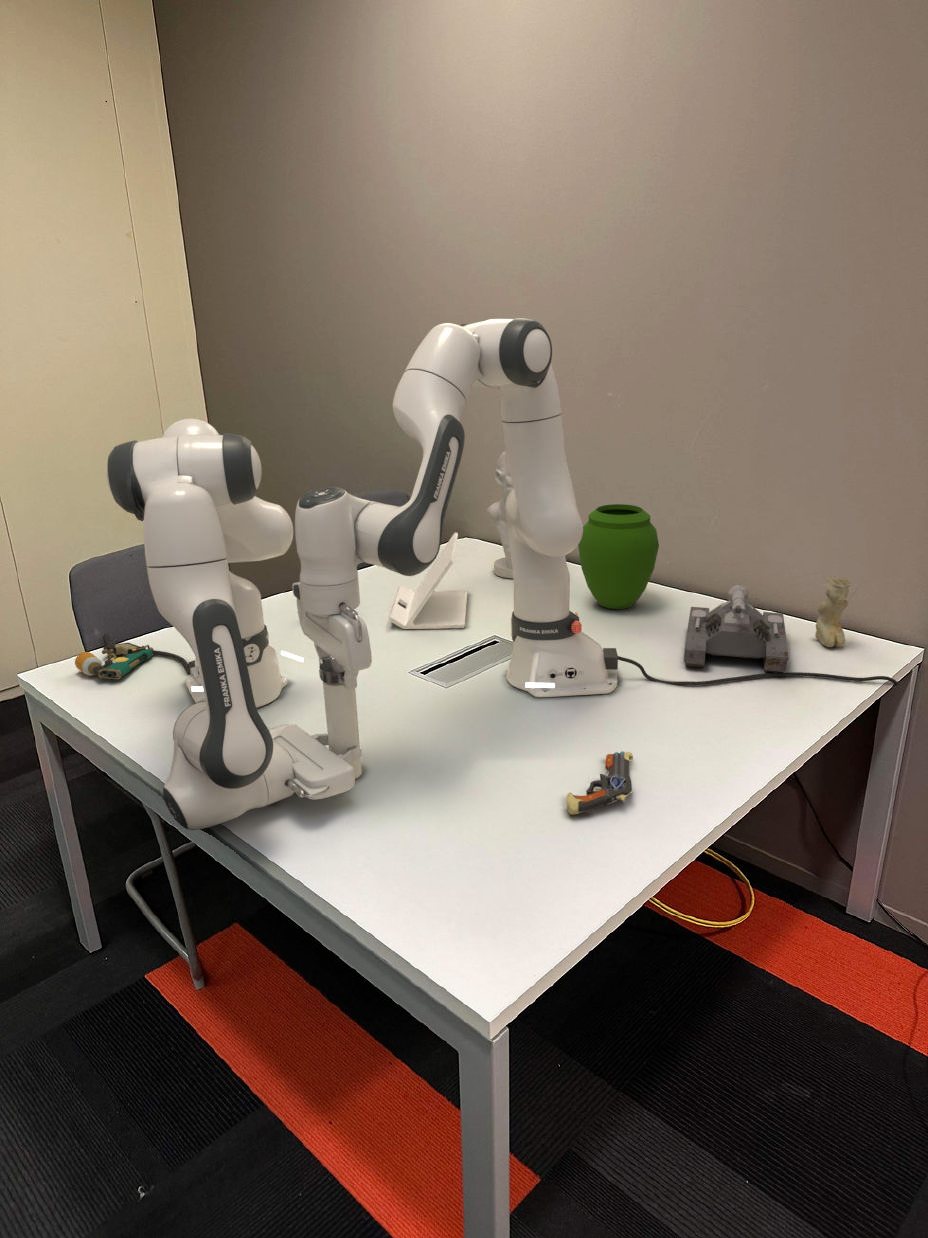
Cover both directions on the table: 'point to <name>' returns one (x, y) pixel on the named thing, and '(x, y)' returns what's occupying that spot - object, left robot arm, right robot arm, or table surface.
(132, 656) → the spray gun
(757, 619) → the toy
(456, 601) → the tablet stand
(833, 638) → the sculpture
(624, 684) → the table surface
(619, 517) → the vase
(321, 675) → the lid
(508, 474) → the bust sculpture
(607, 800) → the toy gun
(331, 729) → the beige tall cylinder
